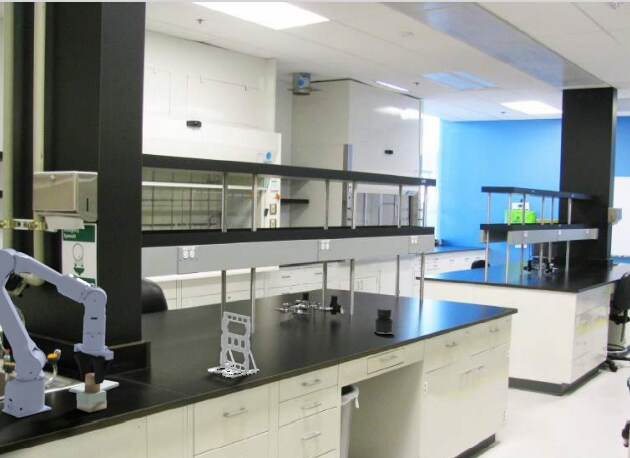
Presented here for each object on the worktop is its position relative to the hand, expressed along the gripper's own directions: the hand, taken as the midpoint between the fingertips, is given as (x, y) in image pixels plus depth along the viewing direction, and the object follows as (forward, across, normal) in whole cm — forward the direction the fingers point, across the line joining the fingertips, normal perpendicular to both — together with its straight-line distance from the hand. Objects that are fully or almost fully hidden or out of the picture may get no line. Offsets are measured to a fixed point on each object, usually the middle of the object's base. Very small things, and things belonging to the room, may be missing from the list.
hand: (92, 381), depth 174 cm
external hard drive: (+8, +15, -12) cm, 21 cm away
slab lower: (+8, 0, 0) cm, 8 cm away
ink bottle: (+8, -5, -161) cm, 161 cm away
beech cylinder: (+3, 0, 0) cm, 3 cm away
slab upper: (+5, 0, 0) cm, 5 cm away
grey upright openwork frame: (+8, -1, -57) cm, 58 cm away
